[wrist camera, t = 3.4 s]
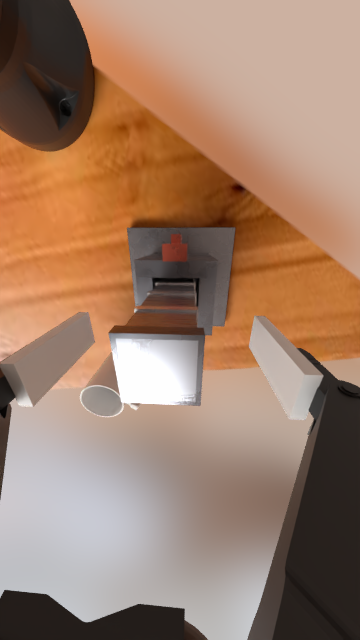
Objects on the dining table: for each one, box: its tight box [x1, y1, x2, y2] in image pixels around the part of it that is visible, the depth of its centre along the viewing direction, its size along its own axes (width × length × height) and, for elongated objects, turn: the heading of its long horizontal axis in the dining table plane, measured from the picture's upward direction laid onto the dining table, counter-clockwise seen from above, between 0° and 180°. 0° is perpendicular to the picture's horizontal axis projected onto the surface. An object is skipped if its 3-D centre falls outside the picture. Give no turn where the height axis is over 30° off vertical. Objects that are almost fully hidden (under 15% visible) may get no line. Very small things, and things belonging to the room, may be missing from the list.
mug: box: [80, 352, 142, 417], centre depth 33 cm, size 10×7×12 cm, turn 62°
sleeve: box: [127, 228, 235, 335], centre depth 25 cm, size 16×16×12 cm
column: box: [109, 278, 205, 406], centre depth 19 cm, size 5×5×22 cm
